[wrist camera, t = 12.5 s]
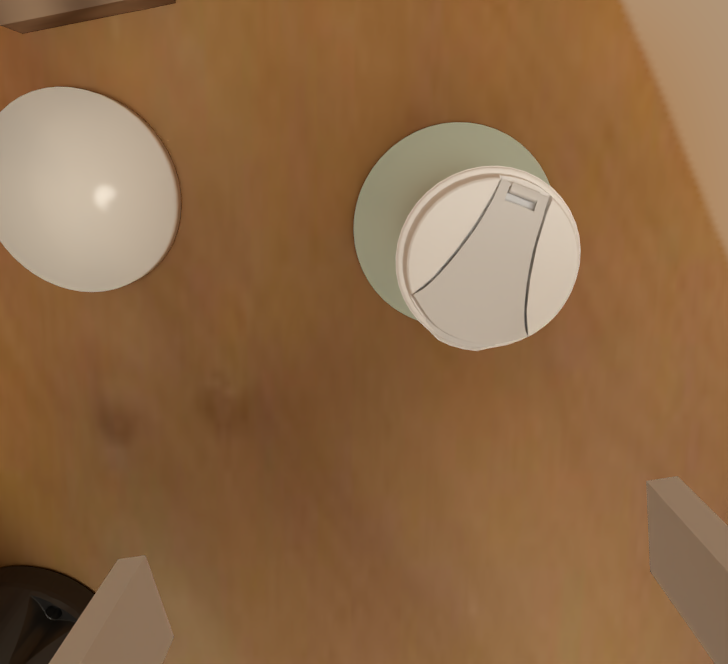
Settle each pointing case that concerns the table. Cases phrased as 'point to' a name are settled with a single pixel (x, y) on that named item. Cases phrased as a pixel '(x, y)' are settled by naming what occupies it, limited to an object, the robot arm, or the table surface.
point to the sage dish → (421, 190)
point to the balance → (64, 11)
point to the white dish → (84, 190)
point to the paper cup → (487, 257)
